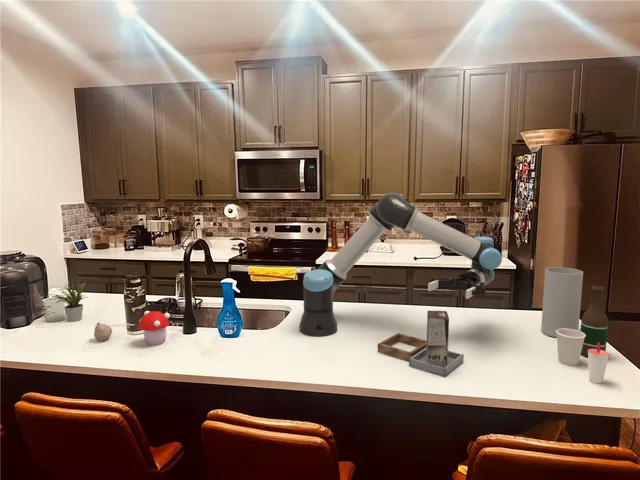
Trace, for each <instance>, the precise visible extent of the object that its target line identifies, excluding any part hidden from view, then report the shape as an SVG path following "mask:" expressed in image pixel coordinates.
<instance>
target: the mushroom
mask: <svg viewBox="0 0 640 480" xmlns="http://www.w3.org/2000/svg"><path fill="white" fill-rule="evenodd" d="M170 314H171V313H168V312H165V313H163V312H161V311H157V310H156V311H155V310H154V311H153V310H152V311H149V310H146V311H144V313H143V316H142V317H141V318H140V319H139V320H138V330H140V331H144V333H143V336H144V339H145V340H144V341H145V345H147V346H150V347H154V346H160V345H162V344H163V345H164V343H166V336H167V330H166V328H167V327H169V326H170V322H169V318H170V317H171V315H170Z"/></svg>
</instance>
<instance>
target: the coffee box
mask: <svg viewBox="0 0 640 480" xmlns="http://www.w3.org/2000/svg"><path fill="white" fill-rule="evenodd" d="M426 316H427V317H426V318H427V319H426V340H427V350H426V358H427V363H429V364H432V365H436V366H439V367H443V368H445V367H446V366H447V355H448V351H449V329H450V317H449V314H448V312H447V310H430V309H429V310H427V315H426Z"/></svg>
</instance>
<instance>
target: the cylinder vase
mask: <svg viewBox="0 0 640 480" xmlns="http://www.w3.org/2000/svg"><path fill="white" fill-rule="evenodd" d="M544 271H545V272H544V282H543V284H544V285H543V296H542V297H543V301H542V313H541V326H540V327H541V328H540V329H541V332H542V333H543V334H544V335H546V336H549V337H552V338H554V339H557V333H556V330H557V329H561V328H567V329H574V330H578V331H580V330H579V329H580V328H579V327H580V316H581V315H580V314H581V306H582V293H583V290H582V289H583V279H584V271H582V270H580V269H577V268H569V267H560V266H559V267H557V266H553V267H551V266H550V267H545V269H544Z"/></svg>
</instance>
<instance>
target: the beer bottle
mask: <svg viewBox="0 0 640 480" xmlns="http://www.w3.org/2000/svg"><path fill="white" fill-rule="evenodd" d="M590 290H591V291H590V298H589V305H588V309H587V310H586V311H585V312H584V313H583V314H582V316H581V321H580V328H579V329H580V330H579V331H581V332H583V333H584V334H585V335H586V337H585V338H584V342H583V346H582V350H581V355H580V356H583V357H584V358H587V359H588V349H597V343H598V342H600V350H603V351H606V350H607V342H608V338H607V337H608V331H609V319H608V317H607V314H606V312H605V311H604V307H603V304H604V303H603V302H604V301H603V300H604V299H603V298H604V294H603V293H604V291H605V288H604V287H603V286H601V285H592V286H591V287H590ZM606 352H607V351H606Z"/></svg>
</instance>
